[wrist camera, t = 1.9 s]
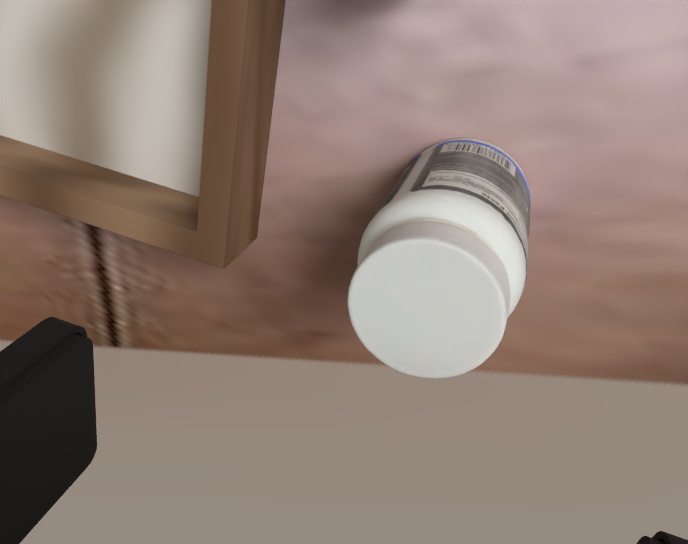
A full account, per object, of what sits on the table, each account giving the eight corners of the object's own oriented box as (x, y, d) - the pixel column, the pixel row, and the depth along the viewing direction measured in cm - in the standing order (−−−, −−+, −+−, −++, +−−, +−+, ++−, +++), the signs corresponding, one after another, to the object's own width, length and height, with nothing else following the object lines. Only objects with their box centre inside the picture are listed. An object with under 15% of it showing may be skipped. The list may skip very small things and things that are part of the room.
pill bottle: (442, 277, 23) (395, 415, 16) (376, 177, 22) (295, 277, 15) (556, 222, 21) (559, 355, 14) (489, 108, 20) (455, 189, 13)
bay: (298, -104, 19) (259, -114, 16) (256, 237, 25) (223, 268, 23) (-72, -181, 21) (-156, -201, 19) (-26, 147, 28) (-84, 166, 25)
